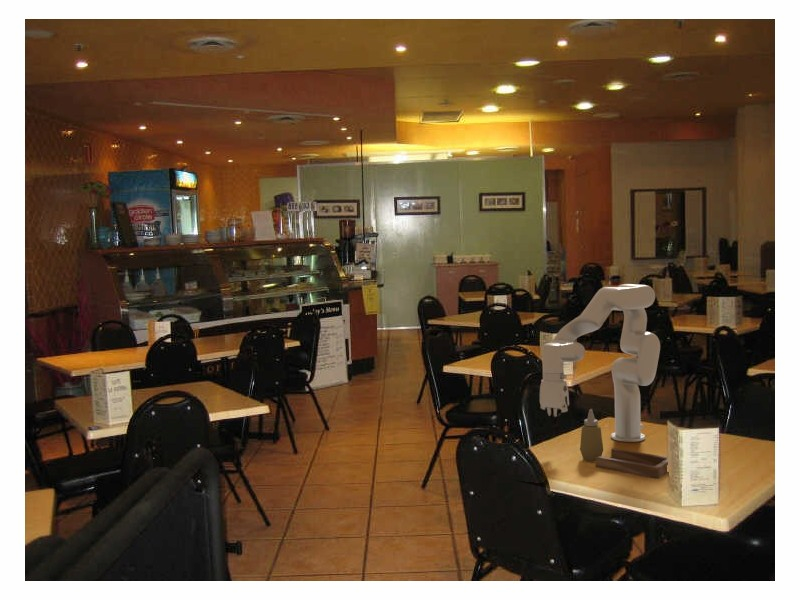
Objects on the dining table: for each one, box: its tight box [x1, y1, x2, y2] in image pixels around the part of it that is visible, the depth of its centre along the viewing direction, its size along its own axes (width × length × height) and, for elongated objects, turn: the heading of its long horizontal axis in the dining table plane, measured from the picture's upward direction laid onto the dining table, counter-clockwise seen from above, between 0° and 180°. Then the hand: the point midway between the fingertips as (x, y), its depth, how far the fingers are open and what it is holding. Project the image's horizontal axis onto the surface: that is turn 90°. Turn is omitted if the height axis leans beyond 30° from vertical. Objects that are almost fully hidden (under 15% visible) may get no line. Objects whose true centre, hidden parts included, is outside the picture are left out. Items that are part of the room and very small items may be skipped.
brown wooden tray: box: [595, 447, 669, 480], centre depth 256 cm, size 13×22×4 cm, turn 48°
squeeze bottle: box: [579, 409, 604, 463], centre depth 266 cm, size 8×8×18 cm
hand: (554, 426), depth 276 cm, fingers closed
